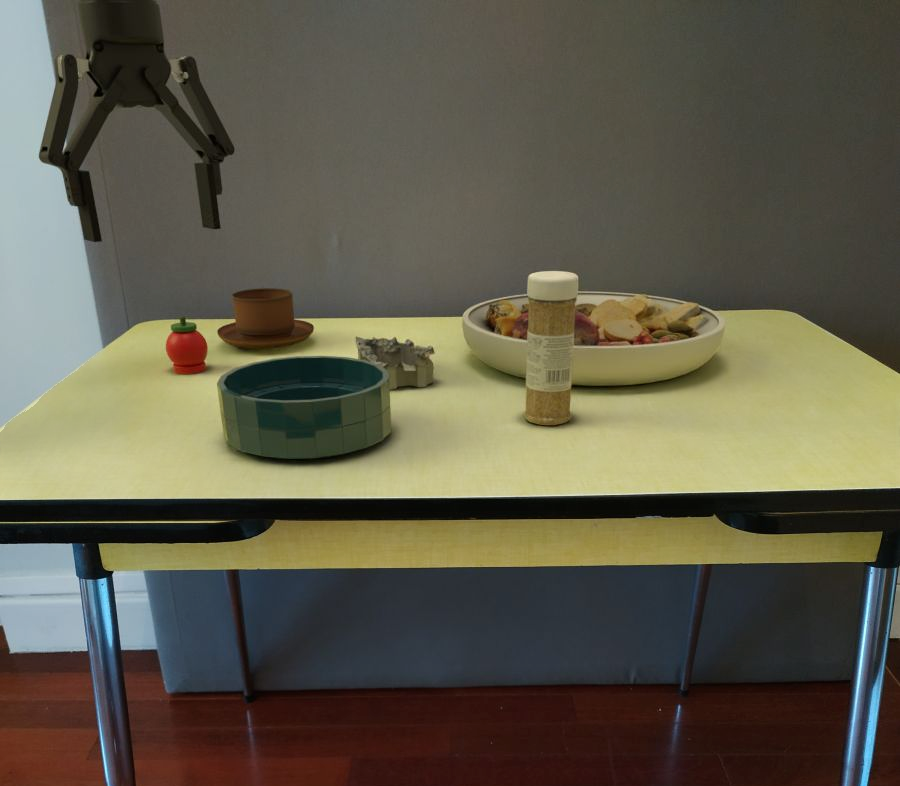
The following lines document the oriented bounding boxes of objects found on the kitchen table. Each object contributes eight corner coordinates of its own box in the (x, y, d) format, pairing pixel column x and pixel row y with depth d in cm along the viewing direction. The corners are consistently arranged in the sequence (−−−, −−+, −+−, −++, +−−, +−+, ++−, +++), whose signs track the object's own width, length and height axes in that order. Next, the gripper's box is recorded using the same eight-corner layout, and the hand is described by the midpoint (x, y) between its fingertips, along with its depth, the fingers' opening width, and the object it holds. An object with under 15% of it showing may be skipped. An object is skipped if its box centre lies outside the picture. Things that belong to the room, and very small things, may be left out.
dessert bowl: (279, 478, 75) (273, 413, 72) (196, 433, 85) (188, 374, 82) (424, 438, 83) (423, 379, 81) (333, 401, 94) (329, 347, 91)
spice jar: (566, 411, 90) (574, 269, 83) (574, 426, 86) (582, 277, 79) (520, 412, 90) (525, 269, 83) (525, 427, 86) (530, 278, 79)
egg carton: (438, 387, 98) (438, 349, 96) (369, 392, 96) (367, 354, 94) (417, 362, 107) (417, 326, 105) (354, 366, 105) (352, 330, 103)
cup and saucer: (214, 337, 119) (208, 288, 116) (305, 330, 122) (301, 282, 119) (224, 359, 109) (217, 306, 106) (323, 351, 112) (319, 299, 109)
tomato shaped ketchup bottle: (180, 377, 102) (171, 323, 99) (162, 369, 105) (154, 316, 102) (217, 370, 105) (210, 316, 102) (199, 362, 108) (192, 310, 105)
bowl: (494, 324, 124) (495, 263, 120) (722, 337, 117) (730, 273, 113) (431, 384, 99) (429, 309, 95) (715, 404, 92) (727, 325, 88)
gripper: (-4, -14, 77) (51, 250, 88) (251, 0, 92) (273, 226, 102) (-32, -7, 82) (23, 242, 93) (214, 6, 97) (239, 220, 107)
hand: (154, 234), depth 97 cm, fingers open, 13 cm apart
